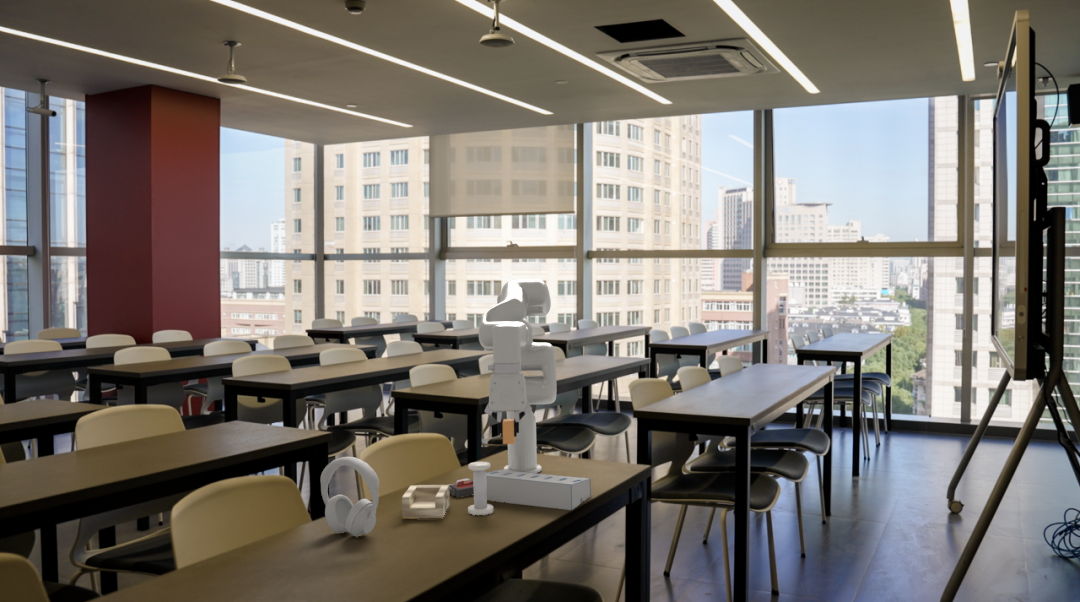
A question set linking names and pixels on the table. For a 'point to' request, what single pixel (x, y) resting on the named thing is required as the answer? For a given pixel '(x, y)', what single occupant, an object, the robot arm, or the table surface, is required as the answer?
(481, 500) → the bobbin
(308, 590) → the table surface
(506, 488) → the warehouse
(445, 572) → the table surface
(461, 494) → the toolbox
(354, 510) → the headphones
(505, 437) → the orange rectangular block
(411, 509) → the beige armchair
